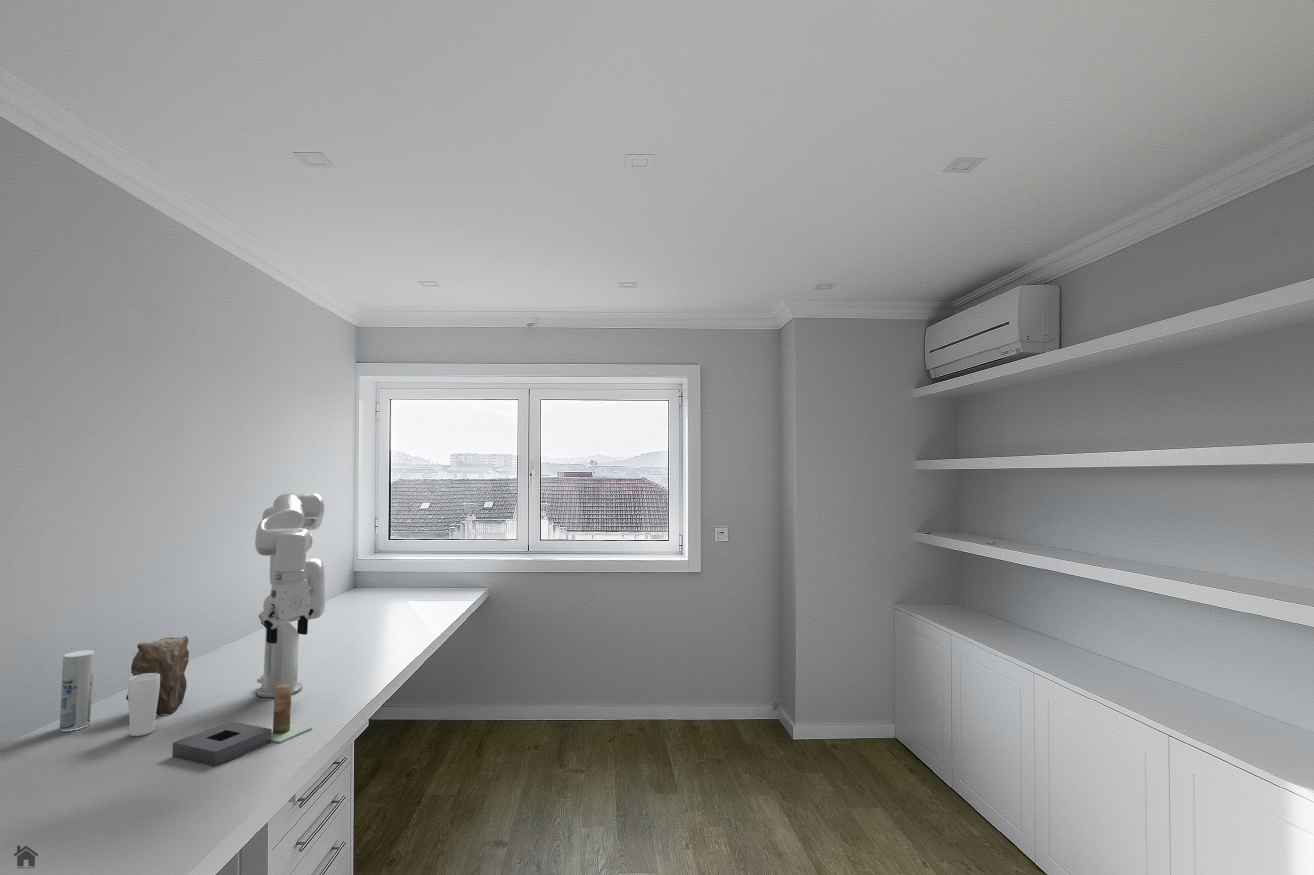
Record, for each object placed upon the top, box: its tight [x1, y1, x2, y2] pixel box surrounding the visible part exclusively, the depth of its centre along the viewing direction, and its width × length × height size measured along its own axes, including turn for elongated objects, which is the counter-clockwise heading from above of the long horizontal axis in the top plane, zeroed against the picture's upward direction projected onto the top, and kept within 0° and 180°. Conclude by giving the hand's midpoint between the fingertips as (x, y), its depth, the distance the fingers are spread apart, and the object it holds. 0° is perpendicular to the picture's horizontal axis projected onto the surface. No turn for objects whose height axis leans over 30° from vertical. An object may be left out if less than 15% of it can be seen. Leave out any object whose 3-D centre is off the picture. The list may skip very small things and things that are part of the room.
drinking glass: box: [127, 673, 160, 737], centre depth 176 cm, size 7×7×15 cm
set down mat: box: [267, 722, 313, 744], centre depth 176 cm, size 11×10×1 cm
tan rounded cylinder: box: [272, 684, 292, 734], centre depth 177 cm, size 4×4×12 cm
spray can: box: [59, 650, 95, 731], centre depth 179 cm, size 6×6×20 cm
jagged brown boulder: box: [125, 635, 190, 716], centre depth 194 cm, size 13×13×20 cm
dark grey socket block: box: [171, 720, 272, 768], centre depth 166 cm, size 15×15×4 cm
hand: (287, 638), depth 181 cm, fingers open, 9 cm apart
